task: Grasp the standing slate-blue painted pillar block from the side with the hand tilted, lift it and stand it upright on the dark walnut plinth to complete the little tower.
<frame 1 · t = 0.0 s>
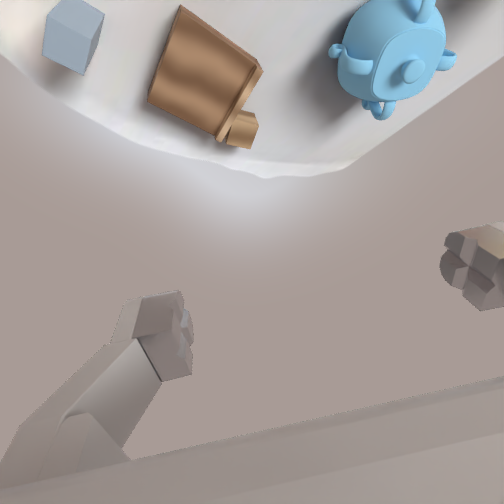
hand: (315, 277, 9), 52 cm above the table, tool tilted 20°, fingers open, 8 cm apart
decorative pot: (374, 42, 52), on the table
stained oak block: (238, 122, 59), on the table, touching walnut plinth
slate-blue pillar block: (84, 20, 43), on the table
walnut plinth: (202, 75, 51), on the table
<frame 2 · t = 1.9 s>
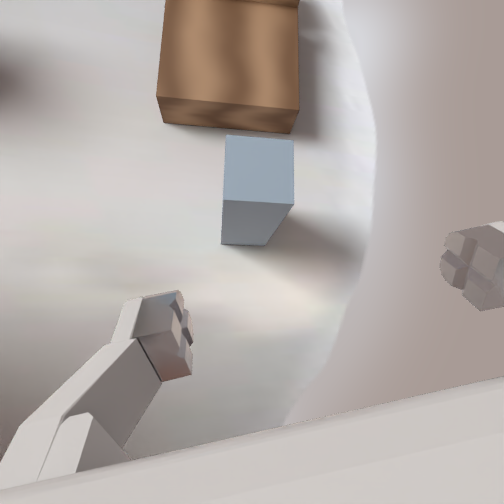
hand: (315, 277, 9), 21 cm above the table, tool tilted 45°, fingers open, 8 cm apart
slate-blue pillar block: (243, 223, 30), on the table
walnut plinth: (230, 74, 34), on the table
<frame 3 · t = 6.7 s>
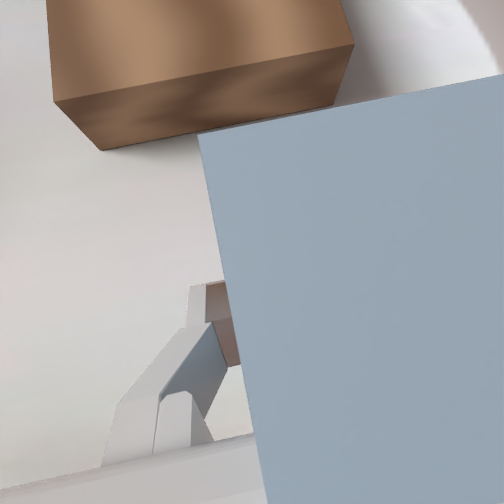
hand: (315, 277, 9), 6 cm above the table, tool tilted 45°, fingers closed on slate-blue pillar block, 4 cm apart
slate-blue pillar block: (294, 305, 15), on the table, touching gripper
walnut plinth: (198, 32, 19), on the table
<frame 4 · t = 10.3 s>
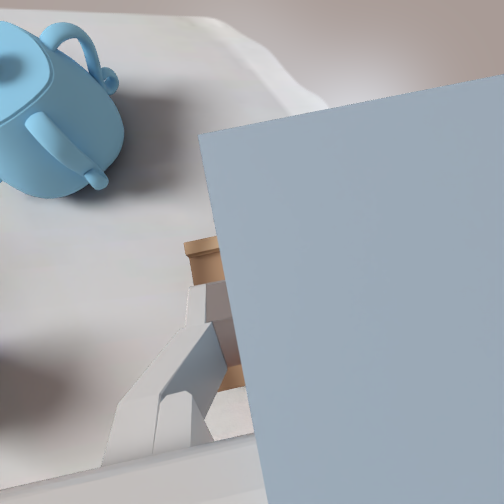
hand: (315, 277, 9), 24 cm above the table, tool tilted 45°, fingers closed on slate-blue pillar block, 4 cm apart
decorative pot: (71, 147, 37), on the table
slate-blue pillar block: (294, 305, 15), point 17 cm above the table, touching gripper
walnut plinth: (268, 302, 32), on the table
when the fingers open (11 cm above the table, at t = 14.1 s): slate-blue pillar block stays where it is, resting on walnut plinth.
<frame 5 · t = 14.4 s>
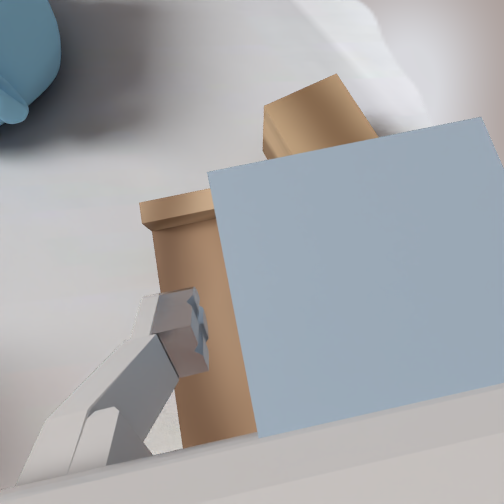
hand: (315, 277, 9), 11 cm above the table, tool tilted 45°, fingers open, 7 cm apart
stained oak block: (306, 164, 22), on the table
slate-blue pillar block: (291, 305, 16), point 4 cm above the table, touching walnut plinth
walnut plinth: (285, 307, 20), on the table
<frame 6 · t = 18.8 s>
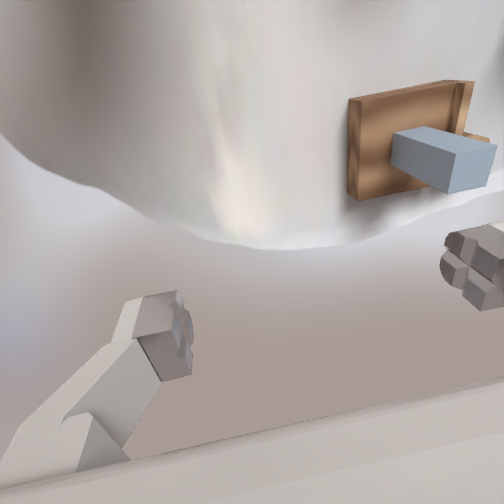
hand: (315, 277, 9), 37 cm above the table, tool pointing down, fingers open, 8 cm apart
slate-blue pillar block: (407, 145, 42), point 4 cm above the table, touching walnut plinth
walnut plinth: (392, 140, 45), on the table
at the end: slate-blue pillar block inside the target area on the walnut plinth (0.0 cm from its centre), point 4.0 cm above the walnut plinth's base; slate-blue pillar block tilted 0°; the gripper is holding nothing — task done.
